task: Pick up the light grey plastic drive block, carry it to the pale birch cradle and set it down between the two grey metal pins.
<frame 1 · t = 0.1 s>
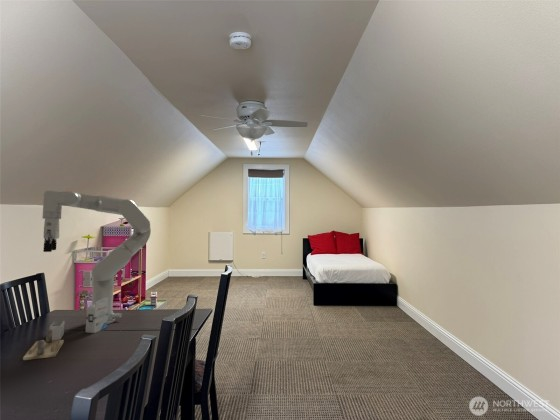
hand: (49, 250, 159), 37 cm above the table, tool pointing down, fingers open, 9 cm apart
cradle: (44, 350, 130), on the table
ink box: (96, 330, 155), on the table
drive: (56, 337, 145), on the table
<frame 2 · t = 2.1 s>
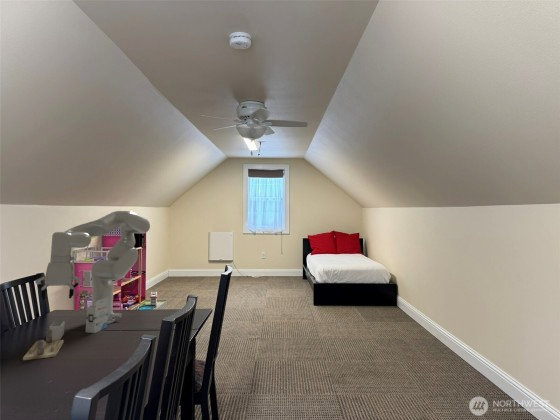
hand: (57, 298, 145), 17 cm above the table, tool pointing down, fingers open, 9 cm apart
nothing on the table moved.
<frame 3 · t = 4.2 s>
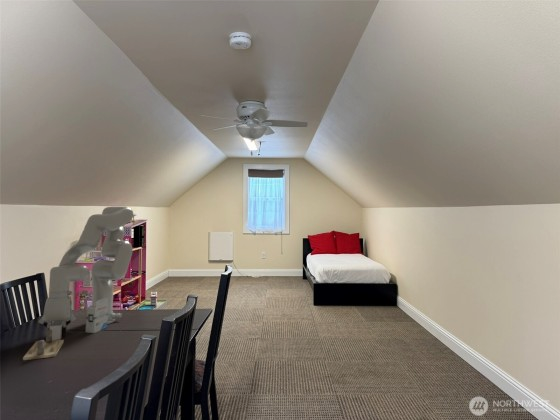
hand: (56, 335, 145), 1 cm above the table, tool pointing down, fingers closed on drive, 4 cm apart
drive: (56, 337, 145), on the table, touching gripper
everything else where it was.
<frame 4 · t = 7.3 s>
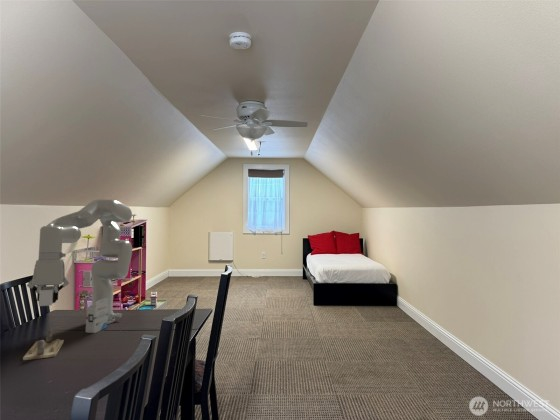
hand: (47, 302, 131), 19 cm above the table, tool pointing down, fingers closed on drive, 4 cm apart
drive: (47, 303, 131), point 19 cm above the table, touching gripper
everything else where it was.
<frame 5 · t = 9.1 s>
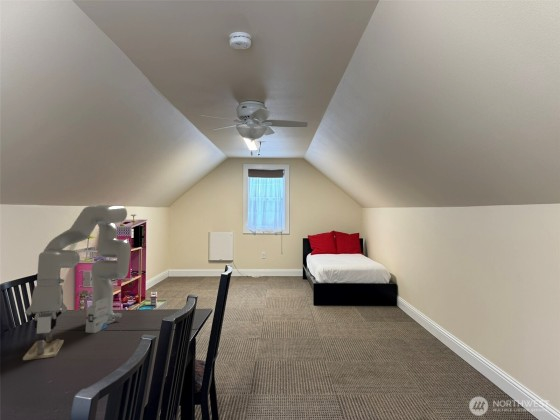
hand: (45, 328, 130), 9 cm above the table, tool pointing down, fingers closed on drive, 4 cm apart
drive: (45, 330, 130), point 8 cm above the table, touching gripper
everything else where it was.
when the fingers open (3 cm above the table, at t = 10.5 s): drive drops 2 cm, resting on cradle.
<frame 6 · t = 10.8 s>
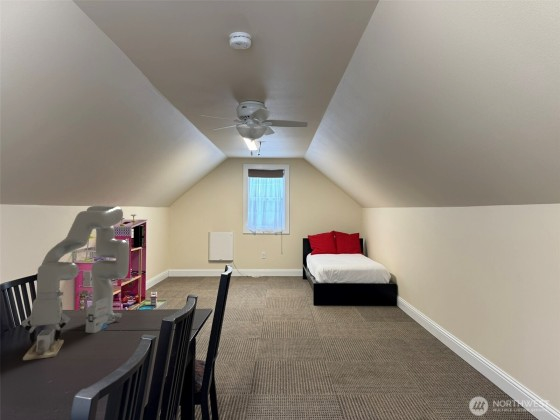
hand: (45, 340, 130), 4 cm above the table, tool pointing down, fingers open, 7 cm apart
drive: (45, 347, 130), point 1 cm above the table, touching cradle
everything else where it was.
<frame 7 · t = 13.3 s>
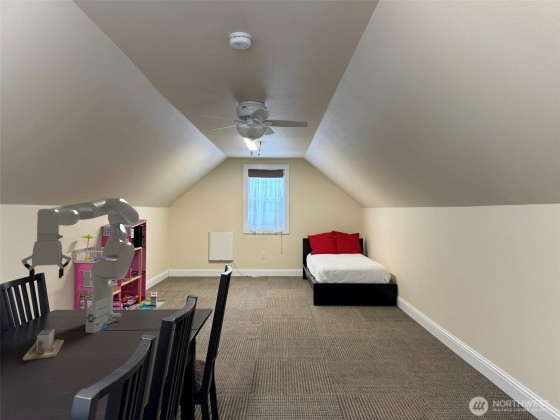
hand: (46, 278, 137), 27 cm above the table, tool pointing down, fingers open, 9 cm apart
nothing on the table moved.
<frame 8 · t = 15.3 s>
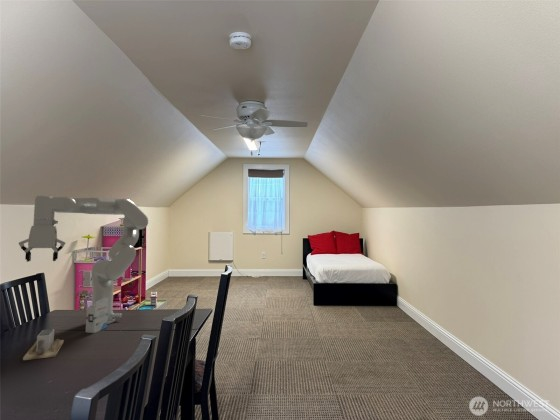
hand: (41, 261, 147), 33 cm above the table, tool pointing down, fingers open, 9 cm apart
nothing on the table moved.
at the end: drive inside the target area on the cradle (0.1 cm from its centre), point 1.0 cm above the cradle's base; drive tilted 0°; the gripper is holding nothing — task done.
